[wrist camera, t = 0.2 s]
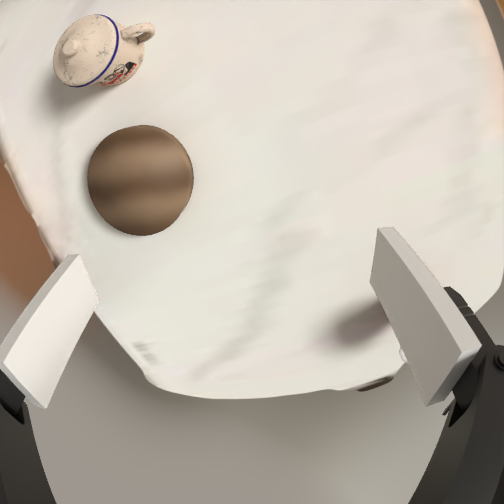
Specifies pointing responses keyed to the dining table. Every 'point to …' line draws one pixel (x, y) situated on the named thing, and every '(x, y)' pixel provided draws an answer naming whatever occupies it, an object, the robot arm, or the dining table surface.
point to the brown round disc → (140, 179)
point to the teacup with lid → (100, 51)
